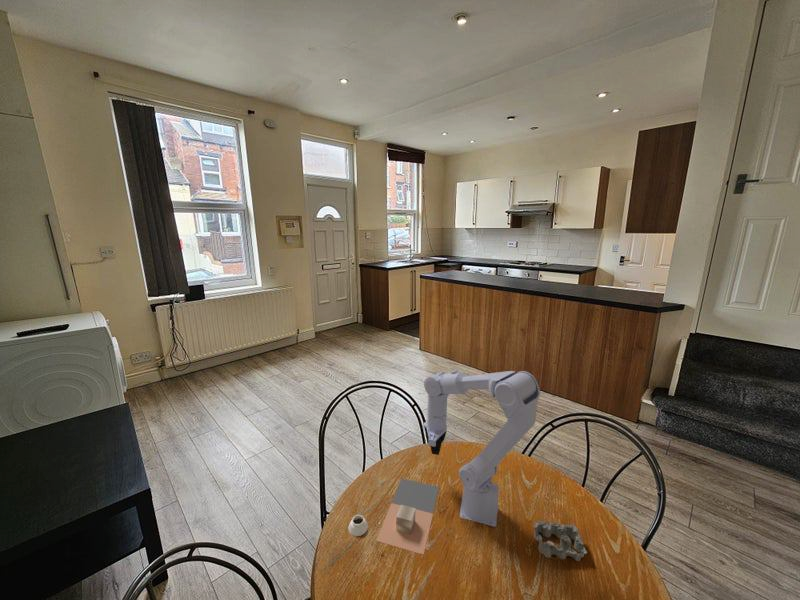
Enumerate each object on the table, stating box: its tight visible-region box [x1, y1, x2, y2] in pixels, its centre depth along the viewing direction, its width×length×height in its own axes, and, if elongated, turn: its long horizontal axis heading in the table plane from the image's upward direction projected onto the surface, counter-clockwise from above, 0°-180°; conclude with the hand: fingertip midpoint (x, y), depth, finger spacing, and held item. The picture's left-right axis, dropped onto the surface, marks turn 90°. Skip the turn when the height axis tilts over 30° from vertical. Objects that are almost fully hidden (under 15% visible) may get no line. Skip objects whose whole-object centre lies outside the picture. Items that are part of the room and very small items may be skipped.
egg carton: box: [533, 520, 588, 562], centre depth 78 cm, size 11×8×4 cm
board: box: [375, 477, 440, 555], centre depth 88 cm, size 12×22×1 cm, turn 163°
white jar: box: [347, 514, 369, 537], centre depth 83 cm, size 5×3×5 cm
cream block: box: [396, 505, 416, 534], centre depth 83 cm, size 4×4×4 cm
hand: (435, 453), depth 98 cm, fingers closed
